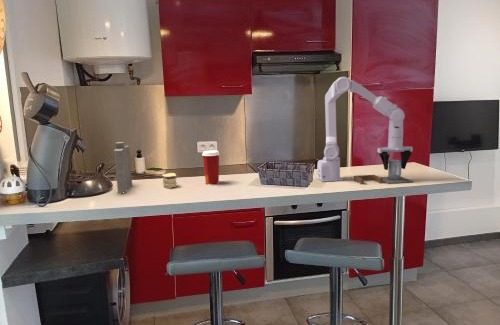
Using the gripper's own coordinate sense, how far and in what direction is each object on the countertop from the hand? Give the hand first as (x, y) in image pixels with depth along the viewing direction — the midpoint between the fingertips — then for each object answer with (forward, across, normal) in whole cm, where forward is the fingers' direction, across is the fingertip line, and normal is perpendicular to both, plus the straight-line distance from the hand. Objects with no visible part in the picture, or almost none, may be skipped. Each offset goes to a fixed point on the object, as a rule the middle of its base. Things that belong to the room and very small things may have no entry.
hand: (394, 169), depth 171 cm
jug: (+4, 0, -1) cm, 5 cm away
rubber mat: (+5, 0, 0) cm, 5 cm away
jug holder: (+5, -12, 0) cm, 13 cm away
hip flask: (+5, -114, +13) cm, 114 cm away
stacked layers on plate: (+6, -94, +13) cm, 95 cm away
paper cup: (+5, -76, +15) cm, 78 cm away
